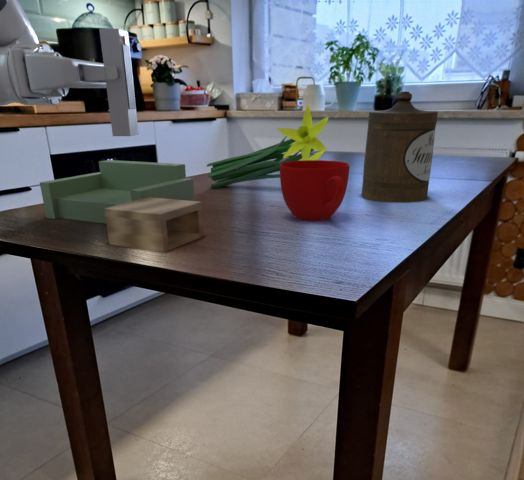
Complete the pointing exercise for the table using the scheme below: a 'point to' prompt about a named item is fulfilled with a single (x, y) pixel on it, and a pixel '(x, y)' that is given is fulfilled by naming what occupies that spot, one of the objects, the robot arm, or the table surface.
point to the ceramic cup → (313, 187)
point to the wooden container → (399, 152)
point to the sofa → (114, 188)
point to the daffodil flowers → (271, 155)
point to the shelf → (154, 223)
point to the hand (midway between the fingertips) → (124, 73)
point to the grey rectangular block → (120, 82)
